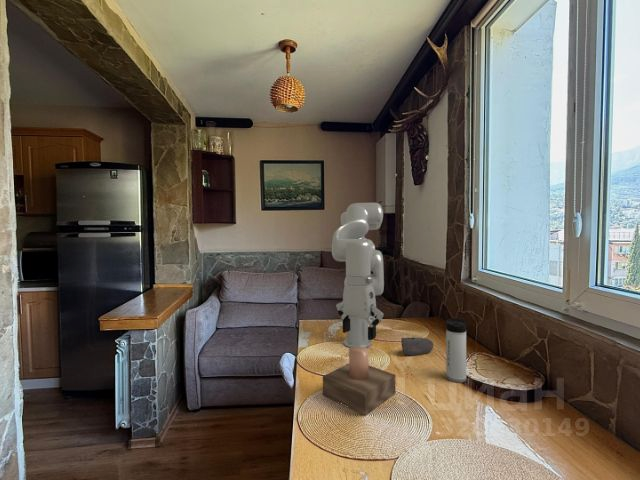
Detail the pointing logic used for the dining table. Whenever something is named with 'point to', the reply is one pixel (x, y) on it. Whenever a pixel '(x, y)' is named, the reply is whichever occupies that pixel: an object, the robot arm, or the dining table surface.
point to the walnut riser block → (359, 388)
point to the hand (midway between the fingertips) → (358, 335)
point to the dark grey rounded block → (416, 346)
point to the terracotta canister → (359, 362)
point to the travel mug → (456, 350)
